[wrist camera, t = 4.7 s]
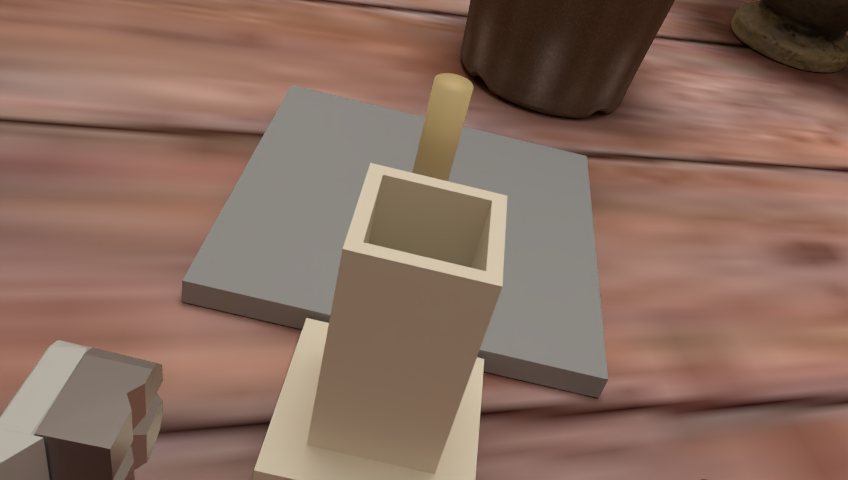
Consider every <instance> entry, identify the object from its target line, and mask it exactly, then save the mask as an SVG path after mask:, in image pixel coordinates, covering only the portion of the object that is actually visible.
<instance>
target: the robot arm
mask: <svg viewBox="0 0 848 480" xmlns="http://www.w3.org/2000/svg"><path fill="white" fill-rule="evenodd" d="M162 381H163V375H162V365H161V364H158V363H154V362H150V361H146V360H142V359H137V358H133V357H129V356H125V355H121V354H117V353H112V352H108V351H104V350H100V349H96V348H91V347H86V346H82V345H78V344H73V343H69V342H65V341H60V340H57V341H56V342H55V343H54V344H52V345H51V346H50V347H48V348H47V350H46V351H45V353H44V354H43V355H42V357H41V358H40V360H39V361H38V363H37V364H36V366H35V367H34V368H33V370H32V371H31V373H30V374H29V376H28V377H27V379H26V380H25V381H24V383H23V384H22V386H21V387H20V389H19V390H18V392H17V393H16V394H15V396H14V397H13V399H12V400H11V402H10V403H9V405H8V406H7V407H6V409H5V410H4V412H3V413H2V415H1V416H0V480H135V476H134V470H135V469H137V468H139V467H140V466H142V465H143V464H145V463H146V462H147V461H148V459H149V456H150V454H151V452H152V450H153V448H154V445H155V442H156V439H157V436H158V432H159V429H160V426H161V420H162V413H163V400H162V399H161V398H160V397H159V395H158V394H157V391H158V389H159V387H160V385H161V383H162ZM701 480H706V479H701Z"/></svg>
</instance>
